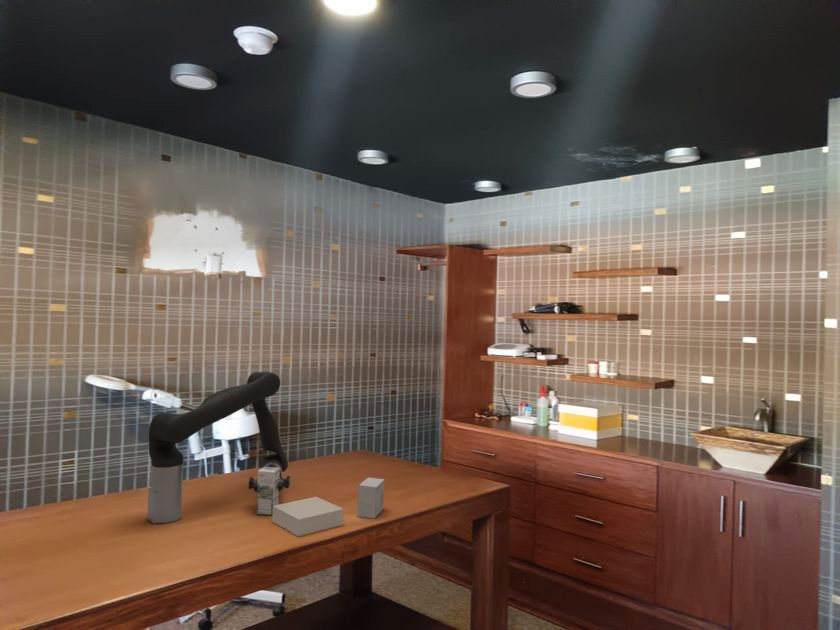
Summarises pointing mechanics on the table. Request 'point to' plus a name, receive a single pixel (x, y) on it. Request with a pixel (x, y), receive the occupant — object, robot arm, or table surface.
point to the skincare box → (370, 497)
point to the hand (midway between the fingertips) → (267, 488)
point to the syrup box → (267, 490)
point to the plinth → (307, 516)
